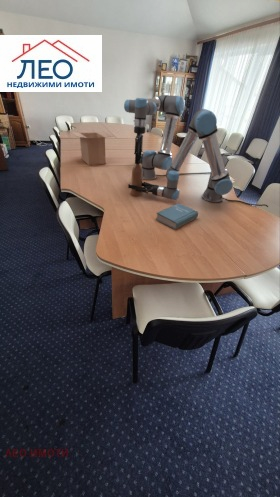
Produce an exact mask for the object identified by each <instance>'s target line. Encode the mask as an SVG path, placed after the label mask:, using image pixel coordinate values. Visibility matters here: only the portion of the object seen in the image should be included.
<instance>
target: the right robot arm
mask: <svg viewBox="0 0 280 497" xmlns="http://www.w3.org/2000/svg"><path fill="white" fill-rule="evenodd" d="M217 120H218V119H217V116H216V114H215V113H214V112H213V111H212V110H209V109H206V108H200V109H198V110H197V111H196V112H195V113H194V115H193V116H192V119H191V120H190V123H189V125H188V127H187V132H186V134H185V136H184V138H183V140H182V142H181V144H180V147H179V148H178V150H177V151H176V154H175V156H174V158H173V159H172V160H173V161H172V164H171V166H170V168H169V169H168V170H166V172H165V173H166V174H165V175H167V176H166V186H163V185H160V184H159V185H158V184H153V183H149V182H147V181H146V182H145V181H142V187H137V186H134V185H131V183H128V185H127V188H128V189H130V190H131V189H135V191H137V192H142V193H144V194H146V195H147V194H149V193H151V195H153V196H156V197H160V198H163V199H164V198H165V199H169V200H172V201H177V200H178V199H179V196H180V190H179V189H178V183H179V179H180V175H179V174H180V170H181V169H182V167H183V165H184V163H185V161H186V160H187V158H188V156H189V154H190V152H191V151H192V148H193V146H194V145H195V143H196V141H197V139H198V140H200V141H201V142H202V146H203V148H204V152H205V155H206V159H207V162H208V165H209V168H210V173H209V178H208V181H207V185H206V188H205V189H204V192H203V193H202V196H201V198H202V199H203V200H205V202H209V203H222V201H223V200H225V201H227V202H237V203H241V204H245V205H250V206H257V207H267V208H269V205H268V204H265V203H264V204H263V203H262V204H256V203H248V202H245V201H242V200H237V199H228V198H225V197H223V196H224V195H227V194H229V193H230V192H231V191H232V189H233V187H234V185H233V184H234V183H233V181H232V180H231V178H230V173H229V170H228V169H226V168H225V163H224V160H223V156H222V152H221V148H220V144H219V141H218V140H219V139H218V136H217V134H218V132H219V130H218V125H217V122H218V121H217Z"/></svg>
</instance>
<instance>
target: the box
mask: <svg viewBox="0 0 280 497" xmlns="http://www.w3.org/2000/svg"><path fill="white" fill-rule="evenodd" d="M70 133H71V134H72V135H74V136H75V137H77V138H79V144H80V153H81V160H83V162H85V163H86V165H87V166H95V165H97V166H98V165H106V163H107V162H106V158H107V157H106V138H113V137H114V136H113V135H111V134H109V133H108V132H105V131H98V132H96V131H95V130H92V129H91V130H77V132H76V131H70Z"/></svg>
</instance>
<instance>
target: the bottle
mask: <svg viewBox="0 0 280 497" xmlns="http://www.w3.org/2000/svg"><path fill="white" fill-rule="evenodd" d="M143 180H144V179H143V168H142V165H141V163H140V164H134V166H133V167H132V169H131V183H130V185H134V186H137V187H142V182H143ZM142 193H143V192H137V191H135V189H130V195H131V196H134V197H140V196H142Z"/></svg>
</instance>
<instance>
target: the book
mask: <svg viewBox="0 0 280 497" xmlns="http://www.w3.org/2000/svg"><path fill="white" fill-rule="evenodd" d="M198 217H199V211H198V210H196V209H193V208H191V207H189V206H186V205H184V204H181V203H176V204H173V205H172V206H171V205H170V206H169V207H167V208H164V209H162V210H160V211H158V212H156V219H155V221H158V222H160V223H162V224H163V225H165V226H167V227H169V228H171V229H173V230H176V229H179V228H181V227H183V226H184V225H187V224H188V223H190V222H192V221H193V220H195V219H197V218H198Z"/></svg>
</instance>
